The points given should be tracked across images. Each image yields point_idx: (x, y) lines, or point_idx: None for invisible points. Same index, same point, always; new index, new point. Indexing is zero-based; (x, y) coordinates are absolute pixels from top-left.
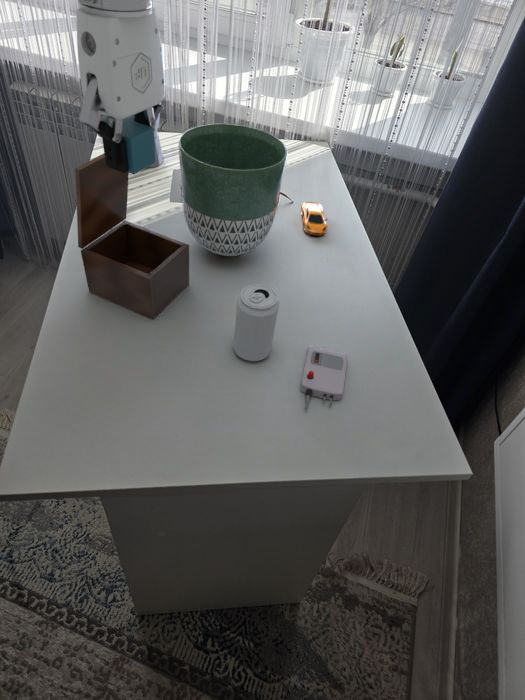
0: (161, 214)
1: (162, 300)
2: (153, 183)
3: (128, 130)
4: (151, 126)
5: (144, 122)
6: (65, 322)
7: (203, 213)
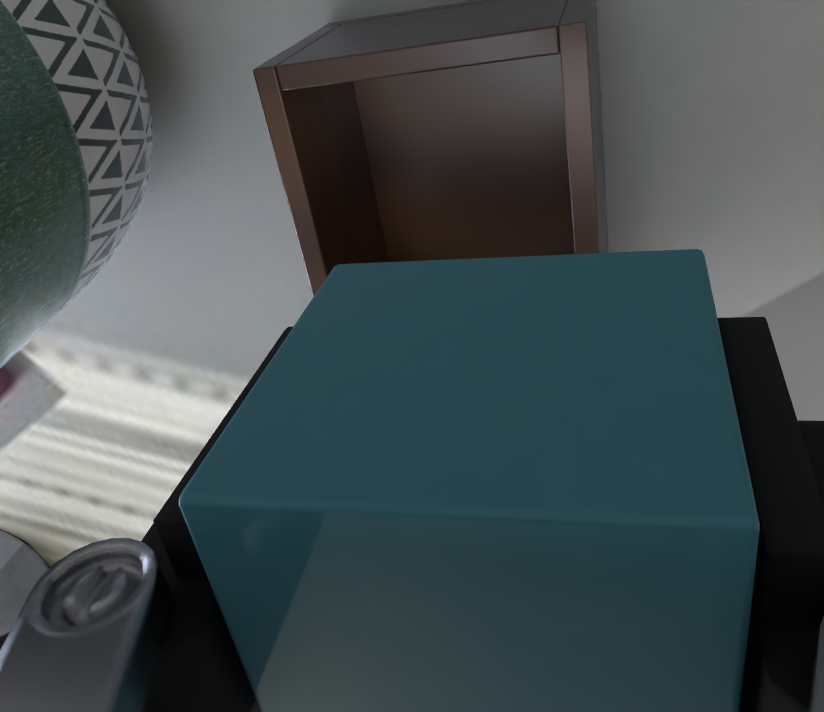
0: (132, 372)
1: (514, 2)
2: (52, 485)
3: (527, 662)
4: (144, 545)
5: (194, 635)
6: (792, 231)
7: (70, 134)
